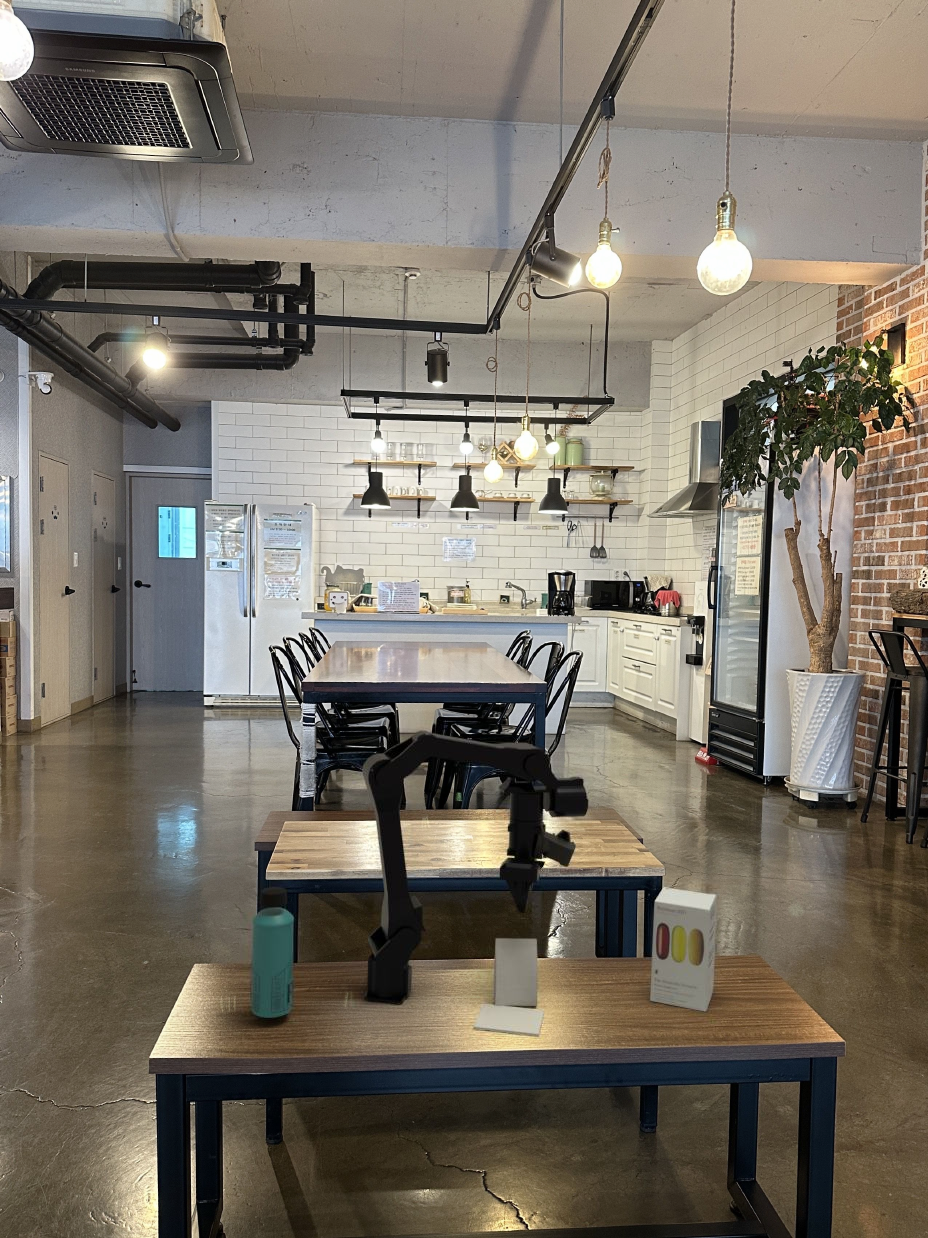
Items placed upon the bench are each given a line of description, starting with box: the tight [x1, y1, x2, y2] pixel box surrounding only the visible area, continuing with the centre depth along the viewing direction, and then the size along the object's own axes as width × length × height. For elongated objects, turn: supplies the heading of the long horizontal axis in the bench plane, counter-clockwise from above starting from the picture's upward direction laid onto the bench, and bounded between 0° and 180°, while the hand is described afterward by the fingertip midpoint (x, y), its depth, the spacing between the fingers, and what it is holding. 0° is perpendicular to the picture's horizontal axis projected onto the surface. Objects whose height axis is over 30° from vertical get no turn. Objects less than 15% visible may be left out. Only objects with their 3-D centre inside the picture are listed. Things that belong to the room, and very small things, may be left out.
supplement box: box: [649, 886, 718, 1012], centre depth 154 cm, size 10×9×17 cm
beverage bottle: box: [249, 886, 295, 1018], centre depth 141 cm, size 6×7×20 cm
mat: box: [472, 1003, 545, 1037], centre depth 142 cm, size 10×8×1 cm
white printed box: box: [493, 937, 539, 1007], centre depth 149 cm, size 4×7×10 cm, turn 93°
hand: (523, 909), depth 157 cm, fingers open, 4 cm apart
